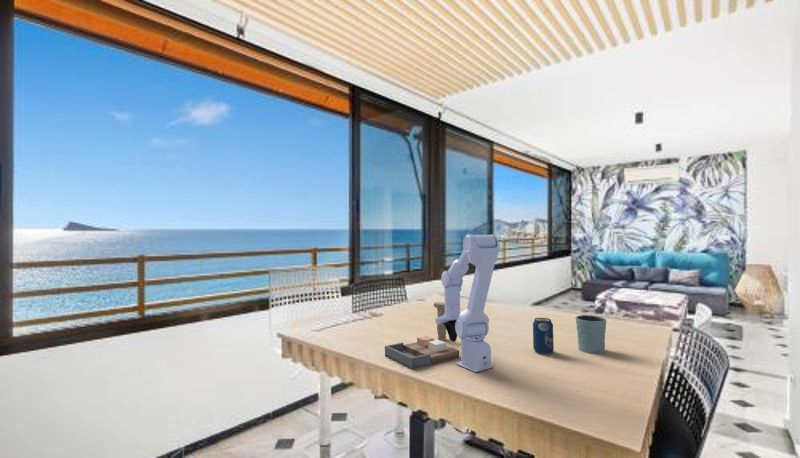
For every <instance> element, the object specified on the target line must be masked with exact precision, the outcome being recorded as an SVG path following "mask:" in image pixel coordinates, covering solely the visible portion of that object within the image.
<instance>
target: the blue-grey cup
mask: <svg viewBox="0 0 800 458" xmlns="http://www.w3.org/2000/svg"><path fill="white" fill-rule="evenodd" d="M575 323H576V331H577V346H578V347H577V348H578V350H579V351H581V352H583V353H586V354H587V353H588V354H590V355H591V354H593V355H601V354H604V353H605V349H606V341H605V340H606V328H607V319H606V318H605V317H603V316H598V315H593V314H592V315H591V314H589V315H588V314H581V315H580V314H579V315H577V316H575Z"/></svg>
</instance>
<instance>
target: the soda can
mask: <svg viewBox="0 0 800 458" xmlns="http://www.w3.org/2000/svg"><path fill="white" fill-rule="evenodd" d="M532 322H533V323H532V338H533V340H532V343H533V344H532V345H533V347H532V348H533V350H534V351H535V353H537V354H539V355H545V356H546V355H547V356H548V355H552V354H553V352H554V349H555V348H554V346H555V345H554V324H553V322H552V319H550V318H548V317H547V318H546V317H536V318H535V317H534V321H532Z"/></svg>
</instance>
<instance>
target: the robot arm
mask: <svg viewBox="0 0 800 458" xmlns="http://www.w3.org/2000/svg"><path fill="white" fill-rule="evenodd" d="M462 242H463V243H462V248H463V250H462V252H461V254H460V255H459V258H457V259H455V260H454V261H453V262H452V264H451V265H450V267H449V268H448V270H444V271H443V272H442V273H441V278H440V279H441V280H440V281H441V283H442V286H443V288H444V290H443V291H444V293H443V294H444V295H443V296H444V302H445V314H444V315H443V316H441V317H437V316H436V317H435V324H436V325H437V324H441V323H443V324H444V325H445V327H446V329H447V330H446V333H447V334H448V337H449V339H448V340H449V341H450V342H452V343H453V342H456V341H457V340H458V339H457V337H459V338H460V348H461V349H460V350H461V351H460V352H461V353H460V355H461V356H460V359H461V360H460V361H457V362H455V364H456V365H457V366H460V367H463V368H465V369H467V370H470V371H472V372H474V373H478V372H481V371H485V370H487V369H488V370H489V369H491V368H493V367H494V366H493V365H492V352H491V351H492V348H491V346H490V344H489V342H486V341H485V339H486V336H488V333H489V329H490V328H489V322H490V318H489V316H488V315H487V314H486V312H485V311H484V310H485V307H486V302H487V298H488V294H489V290H490V287H491V281H492V279H493V274H494V268H495V264H496V262H497V261H498V257H499V251H500V248H501V245H500V242H499V239H498V238H497V236H496V235H495V234H493V233H492V234H466V235H465V236H464V238H463V241H462ZM469 264H471V265H473V266H475V271H474V275H473V281H472V285H471V289H470V293H469V298H468V302H467V306H466V309H464V310H463V311H461V291H462V285H463V282H464V279H463V278H464V276H465V275H466V274H467V272H468V271H469V269H470V268H469Z"/></svg>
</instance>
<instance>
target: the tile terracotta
mask: <svg viewBox="0 0 800 458" xmlns="http://www.w3.org/2000/svg"><path fill="white" fill-rule="evenodd" d="M434 339H435V337H432V336H428V335H423V336H418V337H416V342H417V344H418V345H420V346H423V347H427V346H428V342H430V341H435V340H434Z"/></svg>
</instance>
